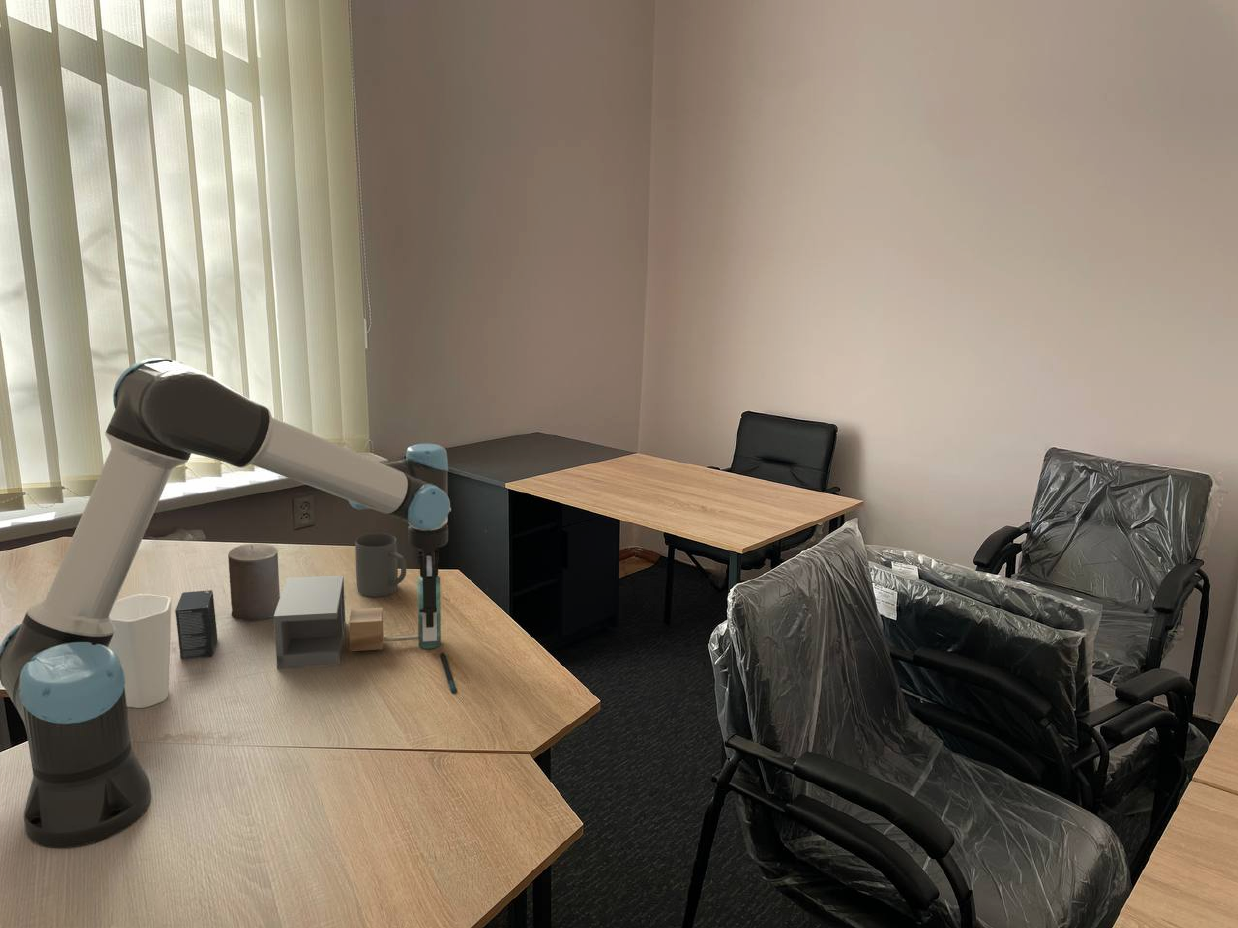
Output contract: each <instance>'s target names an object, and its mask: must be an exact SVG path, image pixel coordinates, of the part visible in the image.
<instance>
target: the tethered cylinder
mask: <svg viewBox="0 0 1238 928" xmlns="http://www.w3.org/2000/svg"><path fill="white" fill-rule="evenodd" d="M416 581H417V582H416V584H417V633H418V634H417V635H401V636H400V635H399V636H387V637H384V634H385V633H384V607H371V608H355V609H354V608H353V609H351V610H350V616H349V626H348V627H349V648H350V652H358V651H359V652H360V651H373V650H383V649H384V643H385V642H386V643H387V642H400V641H401V642H405V641H417V640H418V646H419V648H422V649H428V650H429V649H430V650H431V649H435V648H438V647H439V646H440V647H441V644H442V638H441V637H442V631H441V630H442V623H441V622H442V621H441V620H442V619H441V618H442V617H441V616H442V615H441V614H442V613H441V610H442V609H441V608H442V607H441V602H442V601H441V577H440V576H439V575H438V576H437V577H436V607H437V641H423V617H422V612H419V609H422V608H423V578H422V577H420V576H418V577H417V580H416Z"/></svg>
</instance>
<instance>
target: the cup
mask: <svg viewBox="0 0 1238 928" xmlns="http://www.w3.org/2000/svg"><path fill="white" fill-rule="evenodd" d="M109 617H110V619H111V621H112V623H113V625H114V627H115V632H114V634H113V637H112V639H111V641H110V644H109V646H108V648H110V649H111V650H113V651H114V652H115V653H116V654H117V656H118V657H119V659H120V662H121V666H122V668H123V671H124V677H125V684H124V687H125V696H126V705H127V708H136V709H144V708H148V707H151V706H153V705H157V704H159V703H163V702H164V701H165V700H167V698H168V694H169V691H170V690H169V689H170V666H171V663H170V662H171V660H170V659H171V658H170V657H171V627H172V626H171V623H172V598H171V597H169V596H164V595H158V594H157V595H156V594H149V593H140V594H135V595H130V596H126V597H124V598H120V599H116V601H115V604H114V606H113V608H112V610H111V613H110V615H109Z"/></svg>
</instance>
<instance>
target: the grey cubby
mask: <svg viewBox="0 0 1238 928" xmlns="http://www.w3.org/2000/svg"><path fill="white" fill-rule="evenodd" d="M344 579H345V578H344V575H343V574H342V575H341V574H340V575H337V574H336V575H321V576H320V575H319V576H318V575H317V576H297V577H293V576H292V577H286V579H285V581H284V585H283V588H282V591H281V593H280V599H279V602H278V605H277V608H276V611H275V614H274V616H273V624H274V627H273V628H274V639H275V640H274V642H275V652H276V654H275V657H276V669H291V668H292V669H293V668H295V669H296V668H305V667H306V668H308V667H321V666H324V667H325V666H335V665H336V666H337V665H340V659H341V654H342V647H343V642H344V641H343V640H344V634H345V630H346V629H345V627H346V605H345V603H346V602H345V583H344V582H345V580H344Z"/></svg>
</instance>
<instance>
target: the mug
mask: <svg viewBox="0 0 1238 928" xmlns="http://www.w3.org/2000/svg"><path fill="white" fill-rule="evenodd" d="M397 541H398V540H397V538H396V537H395V536H394V535H392V534H387V533H380V532H379V533H378V532H377V533H369V534H365V535H361V536H359V537H358V538H356V539H355V545H354V547H355V548H354V550H355V551H354V552H355V553H354V555H355V557H354V558H355V579H356V590H357V593H359V594H360V595H361V596H365V597H370V598H380V597H386V596H389V595H391V594H394V593H395V592H396V591H397V590H398V586H399V584H400V583H401V582H403V581H404V579H405V578H406V576H407V561H406V559H405V557H404V556H403V555H402V554H400V553H398V542H397ZM398 561H399V562H400V575H399V571H398V568H399V567H398Z"/></svg>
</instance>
